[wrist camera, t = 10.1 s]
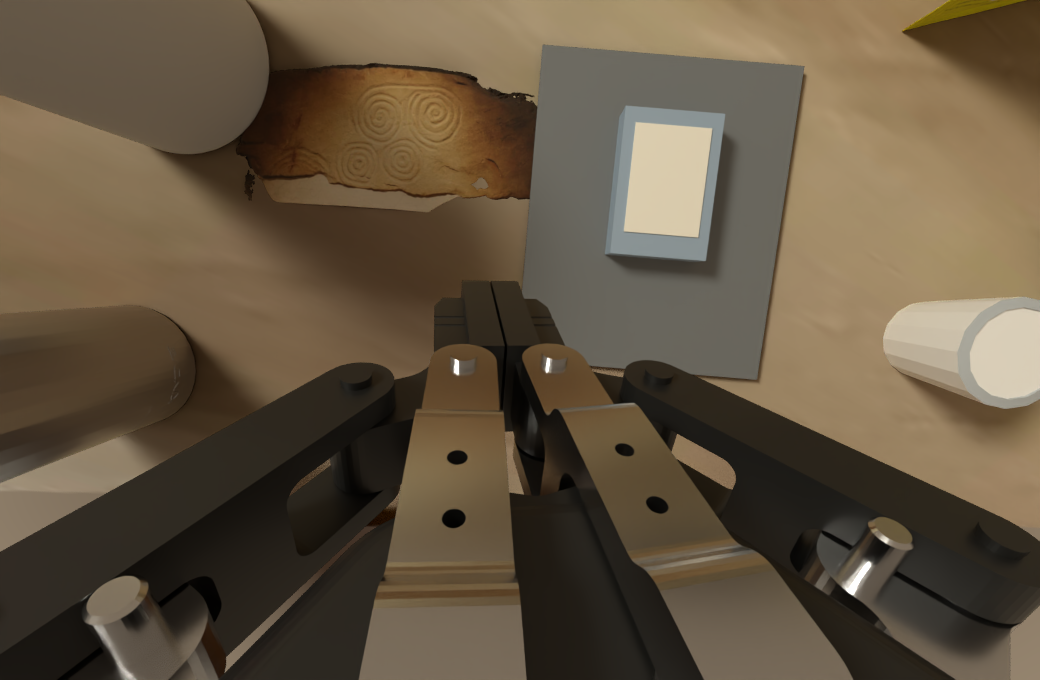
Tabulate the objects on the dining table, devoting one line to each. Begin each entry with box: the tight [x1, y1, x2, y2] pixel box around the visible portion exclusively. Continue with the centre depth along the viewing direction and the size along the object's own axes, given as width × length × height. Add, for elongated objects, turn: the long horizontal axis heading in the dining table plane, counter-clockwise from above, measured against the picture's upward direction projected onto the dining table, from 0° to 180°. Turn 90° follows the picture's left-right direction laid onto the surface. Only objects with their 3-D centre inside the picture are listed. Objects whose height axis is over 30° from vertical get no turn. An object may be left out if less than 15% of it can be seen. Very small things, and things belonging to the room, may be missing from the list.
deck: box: [605, 106, 725, 262], centre depth 33 cm, size 6×2×10 cm
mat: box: [522, 45, 804, 380], centre depth 34 cm, size 18×22×1 cm
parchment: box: [236, 63, 537, 212], centre depth 34 cm, size 25×10×1 cm, turn 86°
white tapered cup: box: [883, 297, 1040, 409], centre depth 32 cm, size 7×7×7 cm
